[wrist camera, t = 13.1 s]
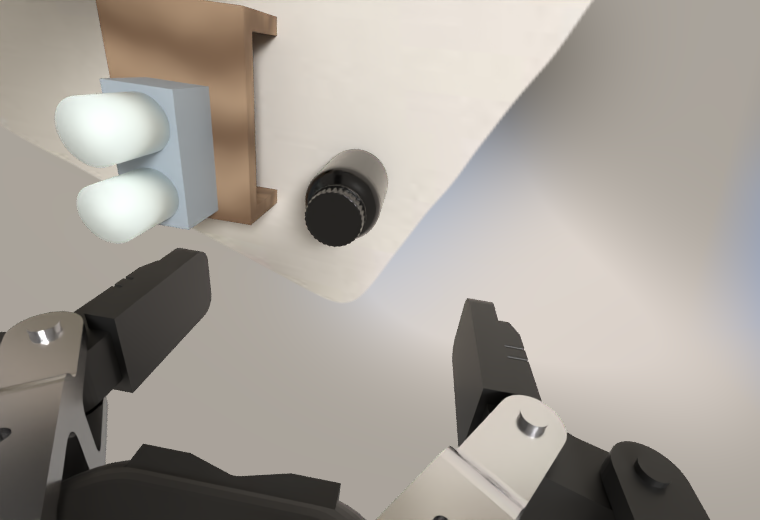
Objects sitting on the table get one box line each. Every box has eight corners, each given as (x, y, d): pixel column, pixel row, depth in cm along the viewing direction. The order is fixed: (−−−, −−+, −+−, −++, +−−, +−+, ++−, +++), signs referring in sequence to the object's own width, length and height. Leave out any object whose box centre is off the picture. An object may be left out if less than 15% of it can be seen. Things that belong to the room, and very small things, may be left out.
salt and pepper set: (145, 77, 32) (35, 80, 23) (208, 86, 31) (121, 93, 23) (164, 201, 37) (79, 243, 28) (218, 210, 37) (150, 255, 28)
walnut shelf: (152, -1, 35) (92, -15, 29) (276, 17, 35) (243, 5, 29) (176, 186, 44) (134, 205, 37) (277, 202, 43) (251, 224, 37)
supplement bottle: (326, 207, 43) (292, 253, 32) (326, 145, 39) (287, 173, 29) (387, 213, 42) (372, 262, 31) (391, 151, 39) (376, 182, 28)
